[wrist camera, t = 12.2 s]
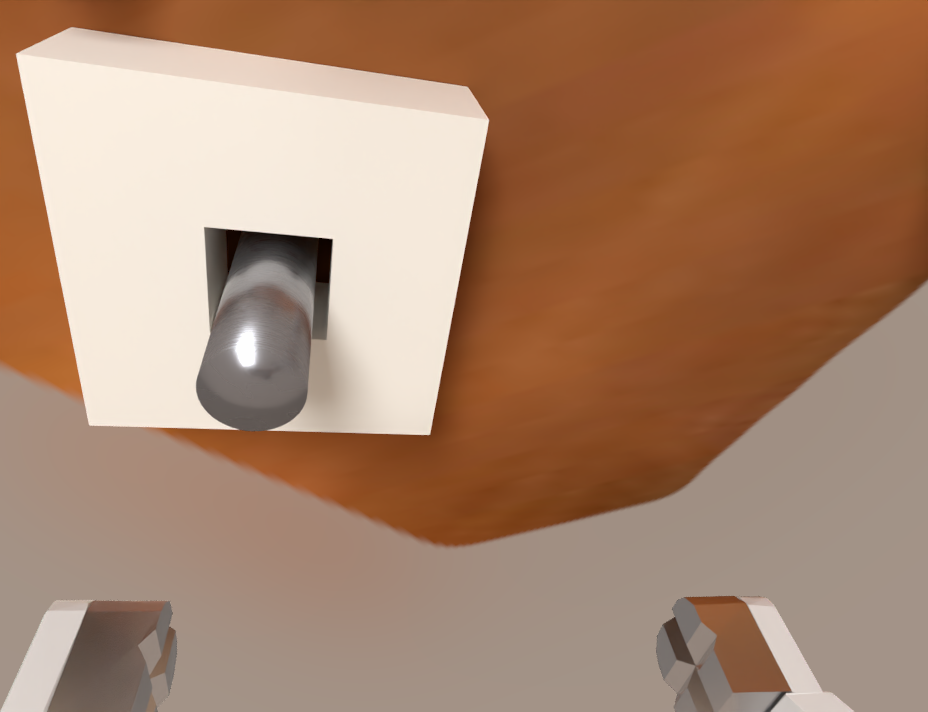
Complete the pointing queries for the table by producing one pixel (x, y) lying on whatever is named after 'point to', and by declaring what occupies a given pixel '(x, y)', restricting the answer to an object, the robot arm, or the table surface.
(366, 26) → the table surface
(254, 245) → the long pin
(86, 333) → the hole block
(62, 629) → the robot arm
